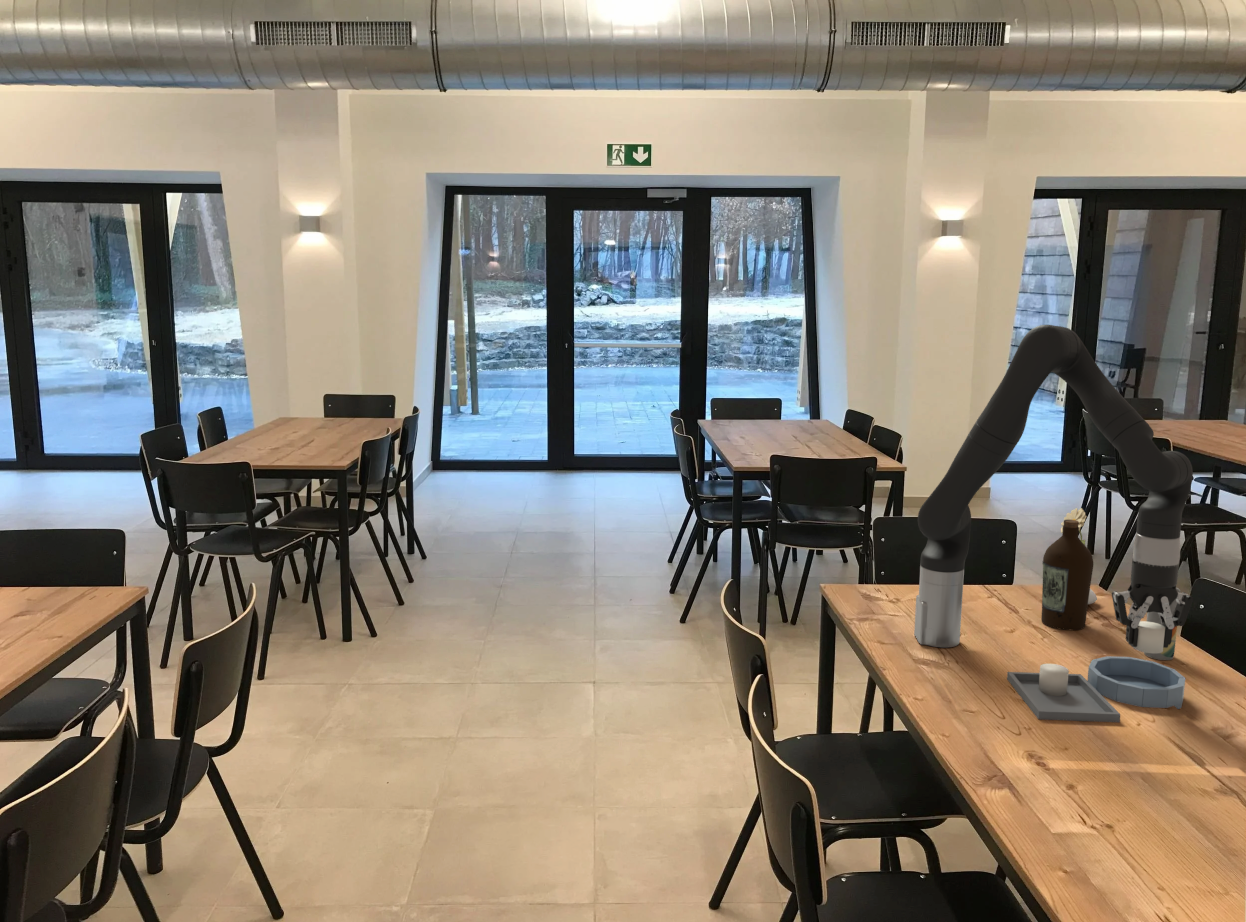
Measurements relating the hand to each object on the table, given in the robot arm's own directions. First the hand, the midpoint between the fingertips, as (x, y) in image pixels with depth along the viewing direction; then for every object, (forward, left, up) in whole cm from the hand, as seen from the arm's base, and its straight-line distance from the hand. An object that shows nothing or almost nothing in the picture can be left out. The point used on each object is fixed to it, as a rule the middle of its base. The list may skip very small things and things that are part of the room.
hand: (1147, 645), depth 173 cm
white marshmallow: (0, 0, -1) cm, 1 cm away
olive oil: (+1, +43, -11) cm, 45 cm away
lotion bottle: (+14, +24, -11) cm, 30 cm away
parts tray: (-16, -3, -11) cm, 20 cm away
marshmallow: (-16, +1, -10) cm, 19 cm away
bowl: (0, +3, -11) cm, 12 cm away
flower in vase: (+9, +59, -11) cm, 61 cm away
